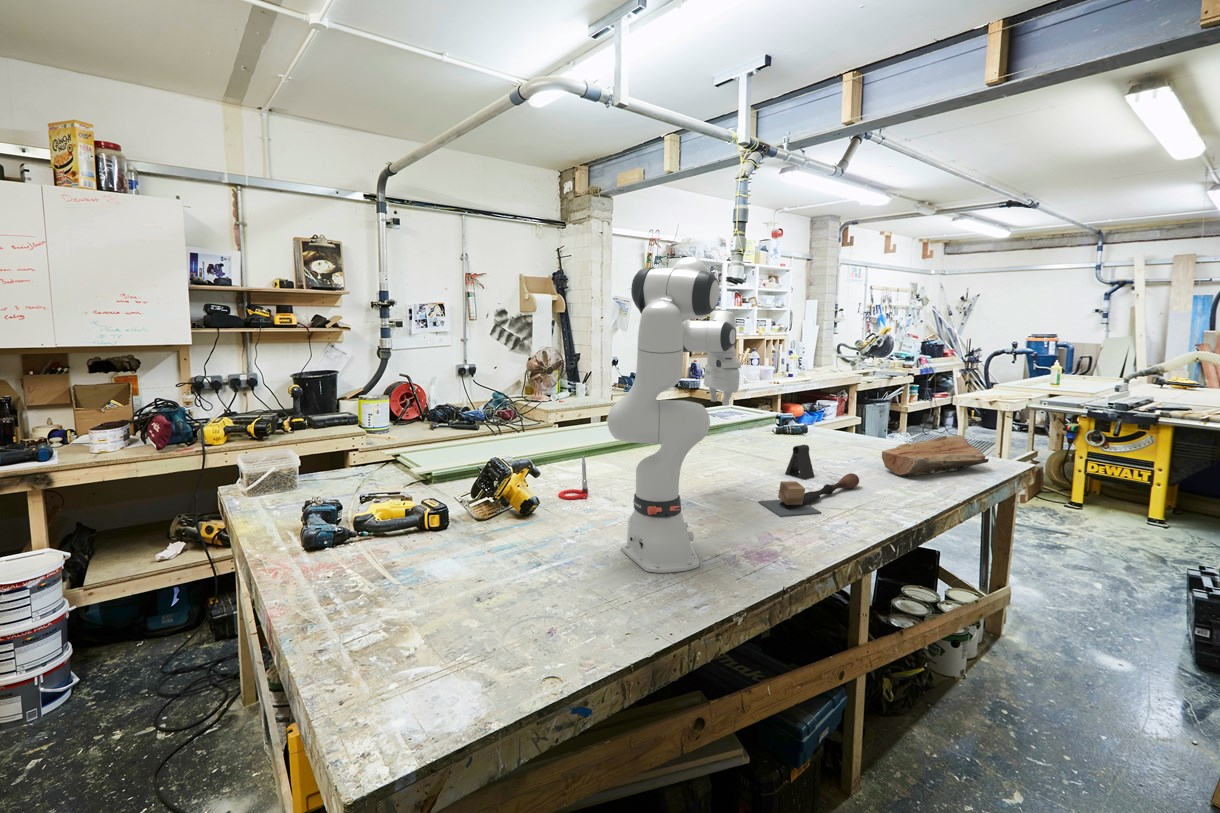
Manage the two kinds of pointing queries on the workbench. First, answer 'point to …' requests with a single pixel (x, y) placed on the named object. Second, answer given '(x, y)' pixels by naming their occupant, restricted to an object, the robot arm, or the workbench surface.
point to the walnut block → (791, 493)
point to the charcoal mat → (784, 512)
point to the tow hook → (582, 493)
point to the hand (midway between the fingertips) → (719, 403)
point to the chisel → (827, 490)
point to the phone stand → (800, 463)
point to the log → (932, 456)
